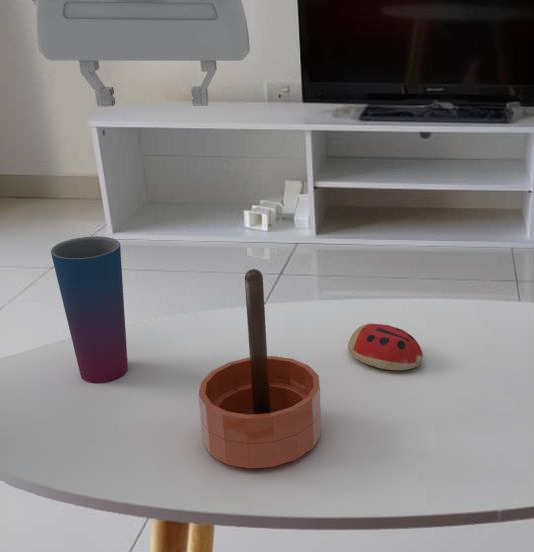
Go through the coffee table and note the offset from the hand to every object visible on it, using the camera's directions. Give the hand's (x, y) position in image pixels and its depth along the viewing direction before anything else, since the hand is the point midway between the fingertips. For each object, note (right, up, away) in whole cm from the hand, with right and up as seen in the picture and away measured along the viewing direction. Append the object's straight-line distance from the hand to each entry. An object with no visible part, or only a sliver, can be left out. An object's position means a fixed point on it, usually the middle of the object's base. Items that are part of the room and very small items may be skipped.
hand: (154, 105), depth 78 cm
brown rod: (+12, -33, -4) cm, 35 cm away
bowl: (+12, -34, -4) cm, 36 cm away
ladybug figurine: (+24, -28, +11) cm, 38 cm away
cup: (-8, -29, +7) cm, 31 cm away
